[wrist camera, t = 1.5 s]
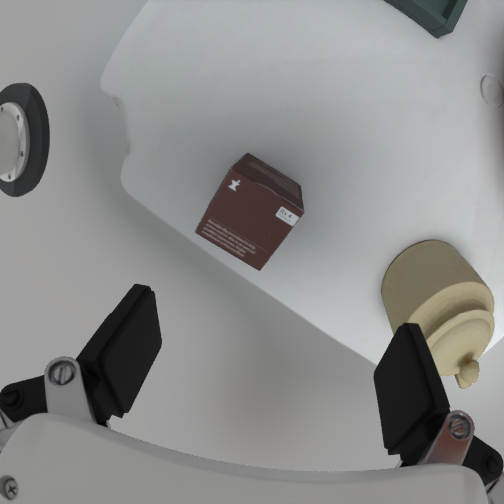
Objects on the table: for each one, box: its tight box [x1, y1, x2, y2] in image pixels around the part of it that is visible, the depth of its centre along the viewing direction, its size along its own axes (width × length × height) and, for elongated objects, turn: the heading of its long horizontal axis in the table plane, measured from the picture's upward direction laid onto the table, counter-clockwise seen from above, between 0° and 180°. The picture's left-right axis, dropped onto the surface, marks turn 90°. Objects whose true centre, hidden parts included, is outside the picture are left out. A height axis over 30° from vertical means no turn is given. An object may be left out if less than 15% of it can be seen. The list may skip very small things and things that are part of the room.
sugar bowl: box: [382, 240, 494, 389], centre depth 22 cm, size 15×11×15 cm
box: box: [195, 153, 304, 271], centre depth 24 cm, size 6×6×7 cm
